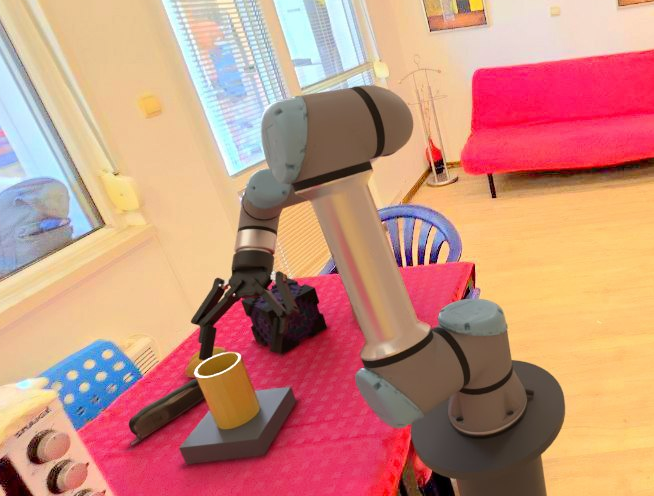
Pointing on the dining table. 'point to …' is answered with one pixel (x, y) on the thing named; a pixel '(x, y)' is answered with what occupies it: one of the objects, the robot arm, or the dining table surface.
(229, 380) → the yellow cup
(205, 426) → the grey block
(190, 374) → the bread roll
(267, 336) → the energy cube
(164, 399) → the dark pencil case
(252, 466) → the dining table surface
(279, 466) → the dining table surface
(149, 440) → the dining table surface
